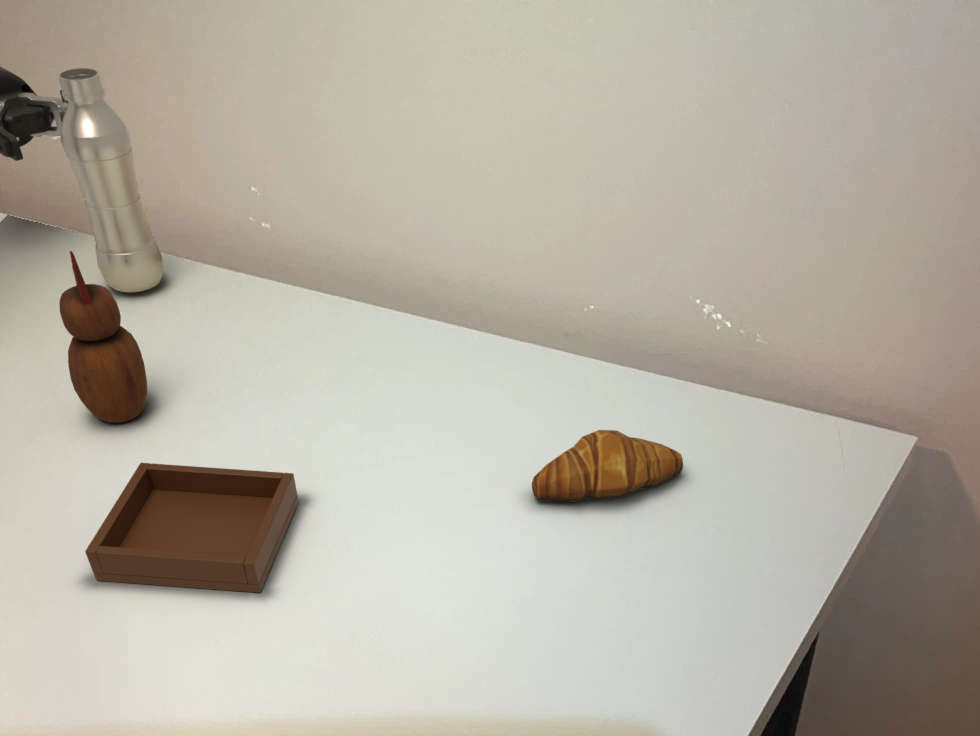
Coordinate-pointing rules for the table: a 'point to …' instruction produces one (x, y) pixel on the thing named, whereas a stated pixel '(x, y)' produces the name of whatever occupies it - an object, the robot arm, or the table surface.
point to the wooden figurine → (102, 353)
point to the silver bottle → (108, 184)
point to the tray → (195, 528)
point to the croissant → (606, 468)
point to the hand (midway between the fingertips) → (57, 139)
